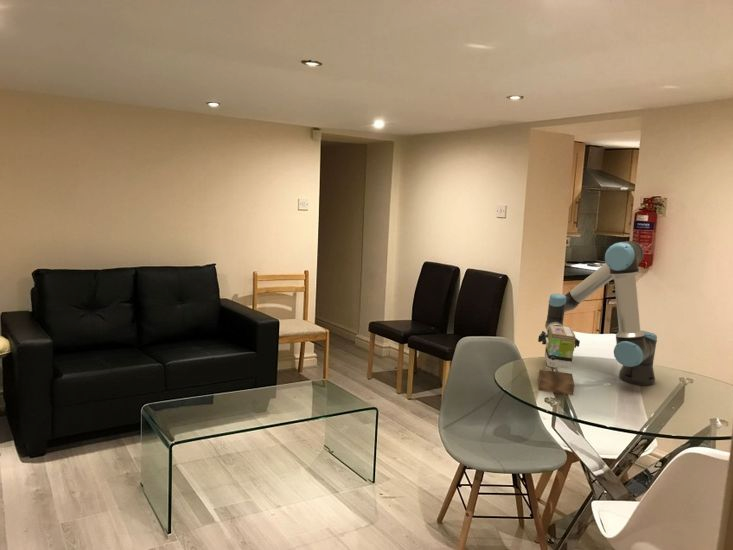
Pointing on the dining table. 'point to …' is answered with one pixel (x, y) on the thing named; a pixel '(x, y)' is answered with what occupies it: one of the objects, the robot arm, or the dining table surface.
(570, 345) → the tea box
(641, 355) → the robot arm
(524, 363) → the dining table surface
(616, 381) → the dining table surface
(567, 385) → the walnut block
